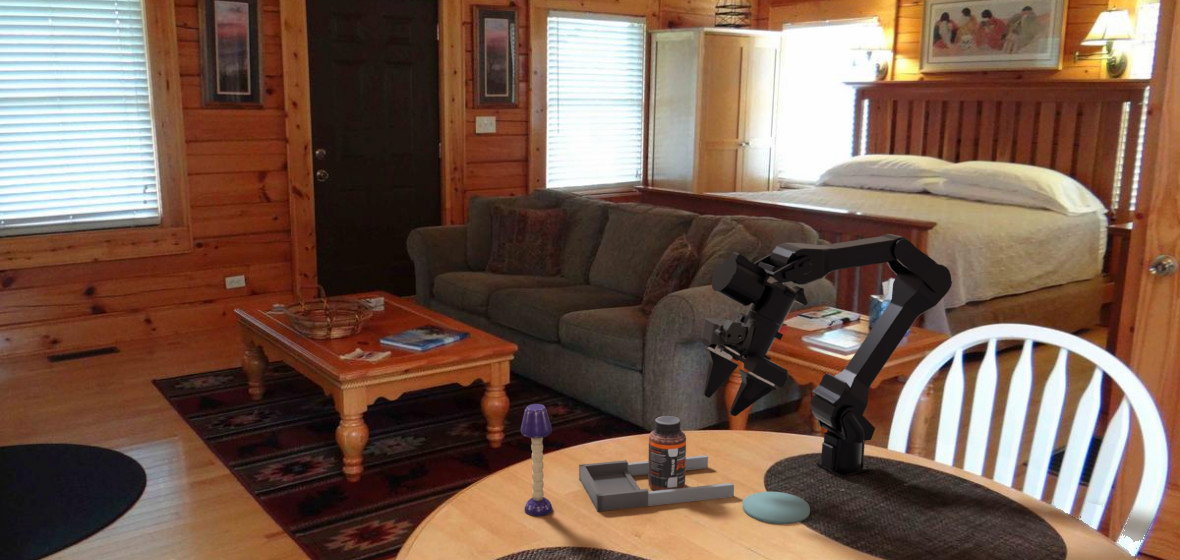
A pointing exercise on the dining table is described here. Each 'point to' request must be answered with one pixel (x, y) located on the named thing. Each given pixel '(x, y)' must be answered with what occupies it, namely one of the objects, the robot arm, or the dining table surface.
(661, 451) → the supplement bottle
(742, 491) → the dining table surface
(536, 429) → the toy lamp
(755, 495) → the pad
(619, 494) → the trap channel
